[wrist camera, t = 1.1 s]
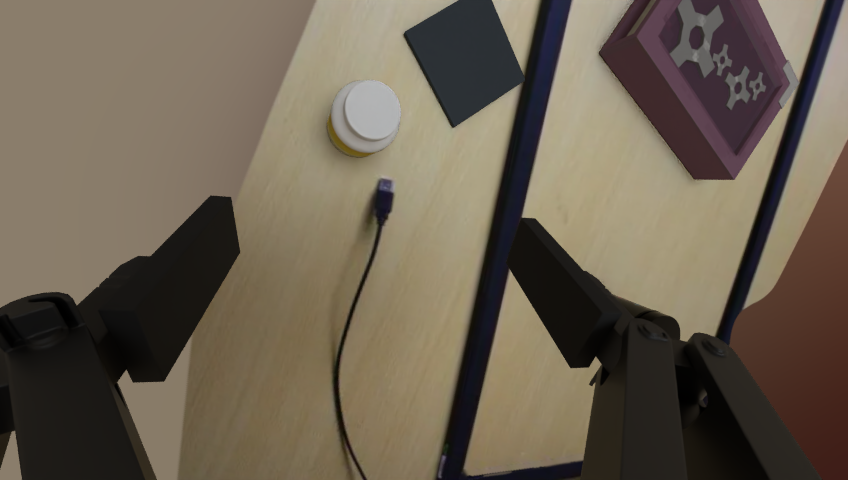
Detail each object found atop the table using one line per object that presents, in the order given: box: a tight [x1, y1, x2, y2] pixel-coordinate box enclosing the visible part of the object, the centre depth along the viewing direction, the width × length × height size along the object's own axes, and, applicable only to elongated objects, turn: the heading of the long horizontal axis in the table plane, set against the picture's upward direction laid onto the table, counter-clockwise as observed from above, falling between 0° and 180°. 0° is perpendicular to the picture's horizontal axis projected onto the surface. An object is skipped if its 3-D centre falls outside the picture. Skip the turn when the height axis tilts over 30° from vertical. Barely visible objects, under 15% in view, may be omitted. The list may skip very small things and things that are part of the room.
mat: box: [404, 0, 525, 127], centre depth 34 cm, size 10×10×1 cm
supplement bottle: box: [327, 80, 401, 157], centre depth 27 cm, size 5×5×10 cm
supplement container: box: [612, 294, 680, 340], centre depth 41 cm, size 7×7×10 cm
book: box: [599, 0, 799, 180], centre depth 41 cm, size 25×16×5 cm, turn 53°
